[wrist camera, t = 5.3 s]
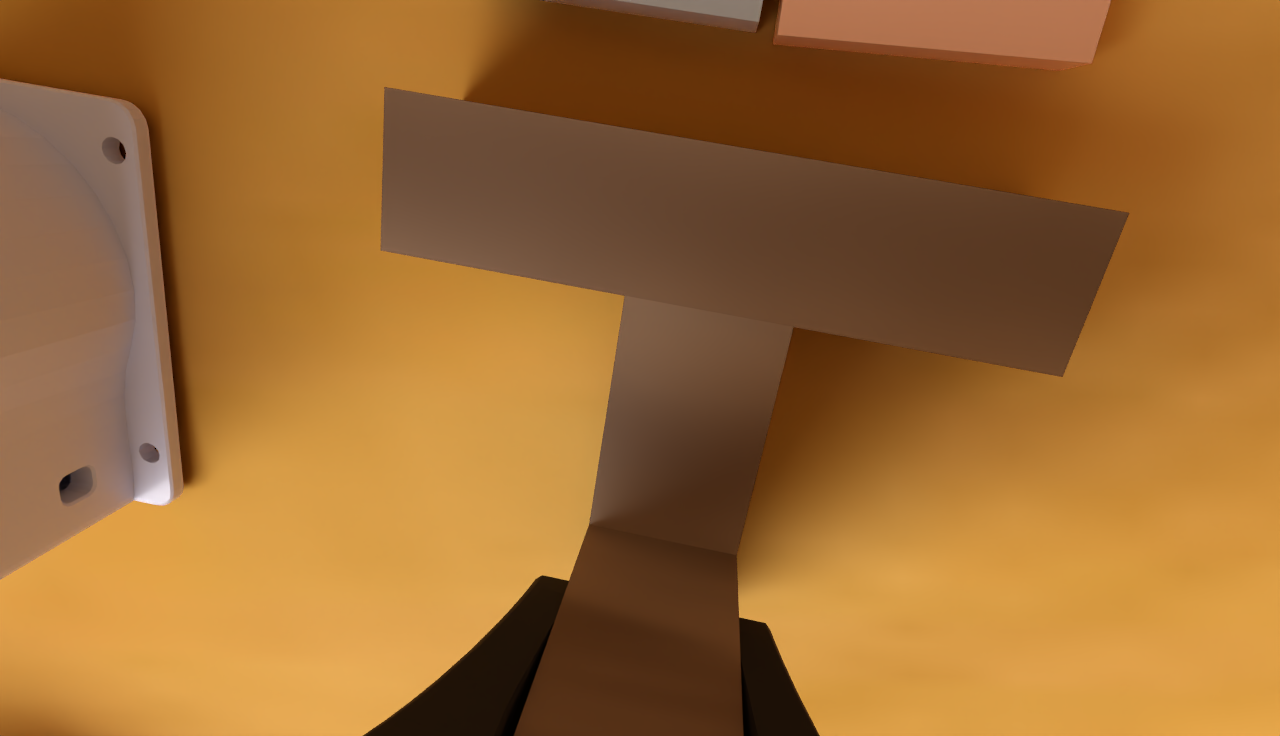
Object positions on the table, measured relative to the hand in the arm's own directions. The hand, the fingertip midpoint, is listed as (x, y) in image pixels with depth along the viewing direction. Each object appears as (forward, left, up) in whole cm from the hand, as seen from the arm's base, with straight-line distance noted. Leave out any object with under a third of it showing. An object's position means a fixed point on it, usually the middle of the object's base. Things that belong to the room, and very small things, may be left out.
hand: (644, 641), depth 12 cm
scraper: (+4, 0, -3) cm, 5 cm away
